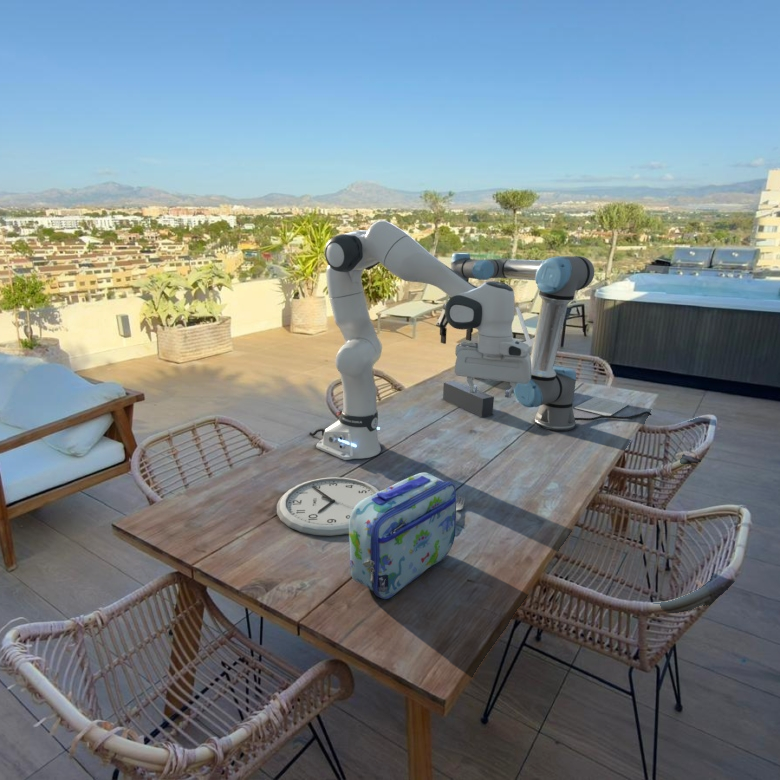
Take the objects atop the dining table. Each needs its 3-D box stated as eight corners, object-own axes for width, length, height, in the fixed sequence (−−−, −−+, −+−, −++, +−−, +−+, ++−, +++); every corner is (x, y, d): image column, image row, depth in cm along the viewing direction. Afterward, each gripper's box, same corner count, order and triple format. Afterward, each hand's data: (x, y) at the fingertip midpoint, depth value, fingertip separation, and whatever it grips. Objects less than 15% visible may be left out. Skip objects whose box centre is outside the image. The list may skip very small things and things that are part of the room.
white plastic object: (486, 418, 267) (465, 395, 242) (467, 346, 289) (447, 318, 264) (556, 394, 255) (543, 367, 230) (531, 321, 277) (516, 289, 252)
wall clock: (392, 527, 129) (268, 531, 127) (391, 533, 130) (269, 537, 127) (383, 473, 158) (282, 475, 155) (383, 478, 158) (282, 480, 156)
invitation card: (608, 416, 214) (573, 407, 224) (608, 416, 214) (573, 408, 224) (628, 404, 229) (594, 396, 238) (628, 405, 229) (594, 397, 238)
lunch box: (377, 612, 103) (378, 518, 97) (342, 586, 111) (341, 497, 104) (459, 557, 121) (465, 475, 115) (425, 538, 128) (428, 460, 122)
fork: (441, 530, 132) (442, 523, 131) (456, 501, 146) (456, 494, 145) (451, 532, 131) (452, 525, 130) (465, 502, 145) (465, 496, 144)
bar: (442, 399, 233) (443, 382, 230) (453, 397, 236) (454, 380, 233) (481, 417, 211) (483, 398, 209) (492, 415, 214) (494, 396, 212)
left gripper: (452, 343, 138) (450, 393, 143) (531, 351, 131) (526, 403, 135) (459, 339, 144) (456, 387, 148) (535, 346, 137) (530, 396, 141)
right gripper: (439, 293, 208) (437, 346, 214) (487, 291, 220) (484, 340, 226) (429, 291, 214) (427, 342, 220) (476, 289, 226) (473, 337, 233)
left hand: (490, 394), depth 142 cm, fingers open, 8 cm apart
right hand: (456, 341), depth 223 cm, fingers open, 13 cm apart
